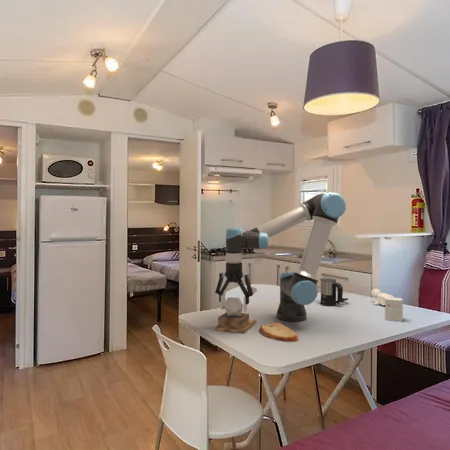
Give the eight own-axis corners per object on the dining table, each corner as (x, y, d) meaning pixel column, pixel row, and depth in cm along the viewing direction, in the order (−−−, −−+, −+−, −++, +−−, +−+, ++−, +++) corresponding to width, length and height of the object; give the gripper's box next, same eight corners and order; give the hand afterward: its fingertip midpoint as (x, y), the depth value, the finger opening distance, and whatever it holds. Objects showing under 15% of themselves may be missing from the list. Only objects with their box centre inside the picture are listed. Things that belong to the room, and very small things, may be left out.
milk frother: (317, 304, 216) (317, 279, 216) (327, 299, 229) (327, 275, 229) (342, 308, 208) (342, 282, 208) (350, 303, 221) (350, 278, 221)
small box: (402, 319, 187) (402, 298, 187) (402, 321, 182) (402, 300, 182) (385, 317, 191) (385, 296, 190) (384, 319, 185) (385, 298, 185)
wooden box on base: (256, 322, 180) (256, 310, 180) (244, 333, 164) (244, 320, 164) (229, 319, 186) (229, 307, 185) (215, 329, 169) (215, 317, 169)
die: (236, 320, 165) (248, 301, 168) (219, 310, 166) (231, 290, 169) (236, 322, 173) (246, 303, 176) (219, 312, 174) (230, 293, 177)
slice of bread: (298, 343, 152) (298, 334, 152) (254, 339, 157) (254, 330, 157) (300, 330, 169) (300, 322, 169) (261, 327, 174) (261, 319, 174)
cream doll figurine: (395, 311, 214) (375, 297, 226) (400, 298, 211) (379, 284, 223) (385, 313, 210) (365, 298, 222) (390, 300, 207) (369, 286, 219)
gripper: (260, 262, 170) (260, 310, 170) (214, 259, 178) (214, 305, 179) (255, 264, 163) (255, 314, 163) (207, 261, 171) (207, 309, 172)
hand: (233, 310), depth 171 cm, fingers open, 10 cm apart
